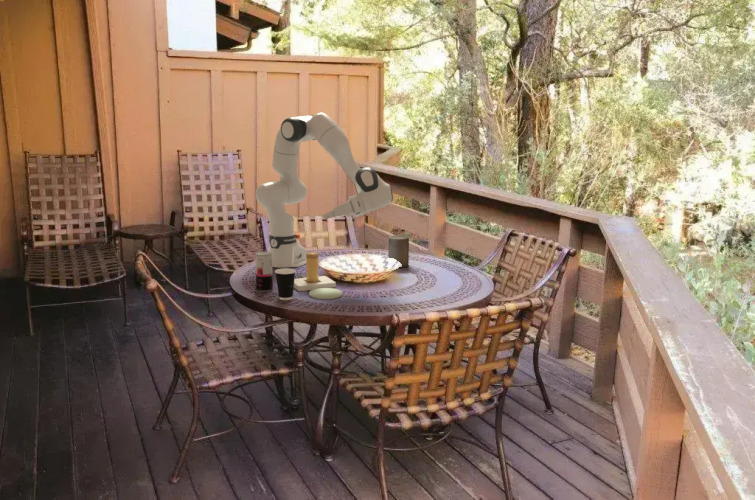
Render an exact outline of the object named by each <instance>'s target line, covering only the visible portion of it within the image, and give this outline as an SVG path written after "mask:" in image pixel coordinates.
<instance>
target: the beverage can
mask: <svg viewBox="0 0 755 500" xmlns="http://www.w3.org/2000/svg"><path fill="white" fill-rule="evenodd" d="M273 276H274V275H273V267H272V253H271V252H268V251H257V252H256V253H255V287H256V288H255V289H256V290H257V292H263V293H264V292H271V291H272V290H273V289H274V287H273V282H274V281H273Z"/></svg>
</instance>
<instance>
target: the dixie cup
mask: <svg viewBox="0 0 755 500" xmlns="http://www.w3.org/2000/svg"><path fill="white" fill-rule="evenodd" d="M296 271H297V270H296V269H294V268H290V267H286V268H277V269H276V270H274V273H275V279H276V285H277V293H278V294H277V295H278V297H279V298H278V299H279V300H281V301H289V300H292V299H293V296H294V289H295V288H294V279H296V278H295V275H296Z"/></svg>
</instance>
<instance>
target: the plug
mask: <svg viewBox="0 0 755 500" xmlns="http://www.w3.org/2000/svg"><path fill="white" fill-rule="evenodd" d="M305 266H306V267H305V269H306V271H305V274H306V275H305V276H306V282H307V283H317V282H319V276H320V275H319V272H320V271H319V269H320V268H319V267H320V266H319V253H318V252H306V264H305Z"/></svg>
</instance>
